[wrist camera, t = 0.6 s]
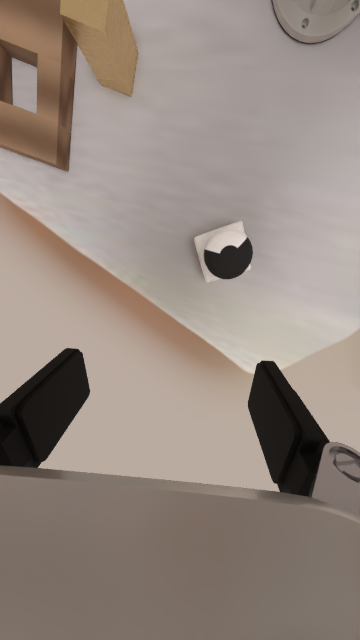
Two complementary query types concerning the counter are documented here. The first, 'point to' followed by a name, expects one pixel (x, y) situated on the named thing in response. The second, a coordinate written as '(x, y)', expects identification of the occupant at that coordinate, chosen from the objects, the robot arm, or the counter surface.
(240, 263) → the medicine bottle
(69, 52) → the walnut square hole board
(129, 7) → the counter surface
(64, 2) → the brass peg
